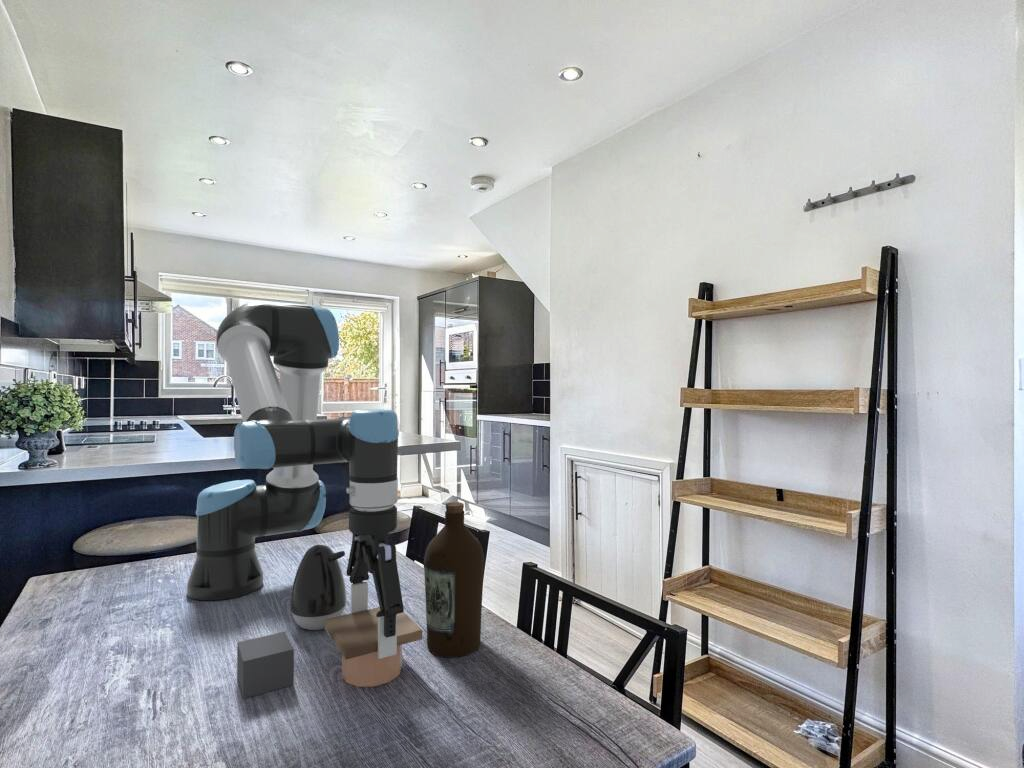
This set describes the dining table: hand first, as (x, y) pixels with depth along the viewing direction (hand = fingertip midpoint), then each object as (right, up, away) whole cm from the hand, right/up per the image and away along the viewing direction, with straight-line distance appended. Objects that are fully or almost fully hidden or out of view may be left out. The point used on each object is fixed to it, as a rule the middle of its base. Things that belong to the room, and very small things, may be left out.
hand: (372, 637), depth 88 cm
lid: (0, +1, 0) cm, 1 cm away
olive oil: (+12, -6, +9) cm, 16 cm away
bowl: (0, -5, 0) cm, 5 cm away
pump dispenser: (-14, -5, +17) cm, 23 cm away
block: (-16, -5, -3) cm, 17 cm away
